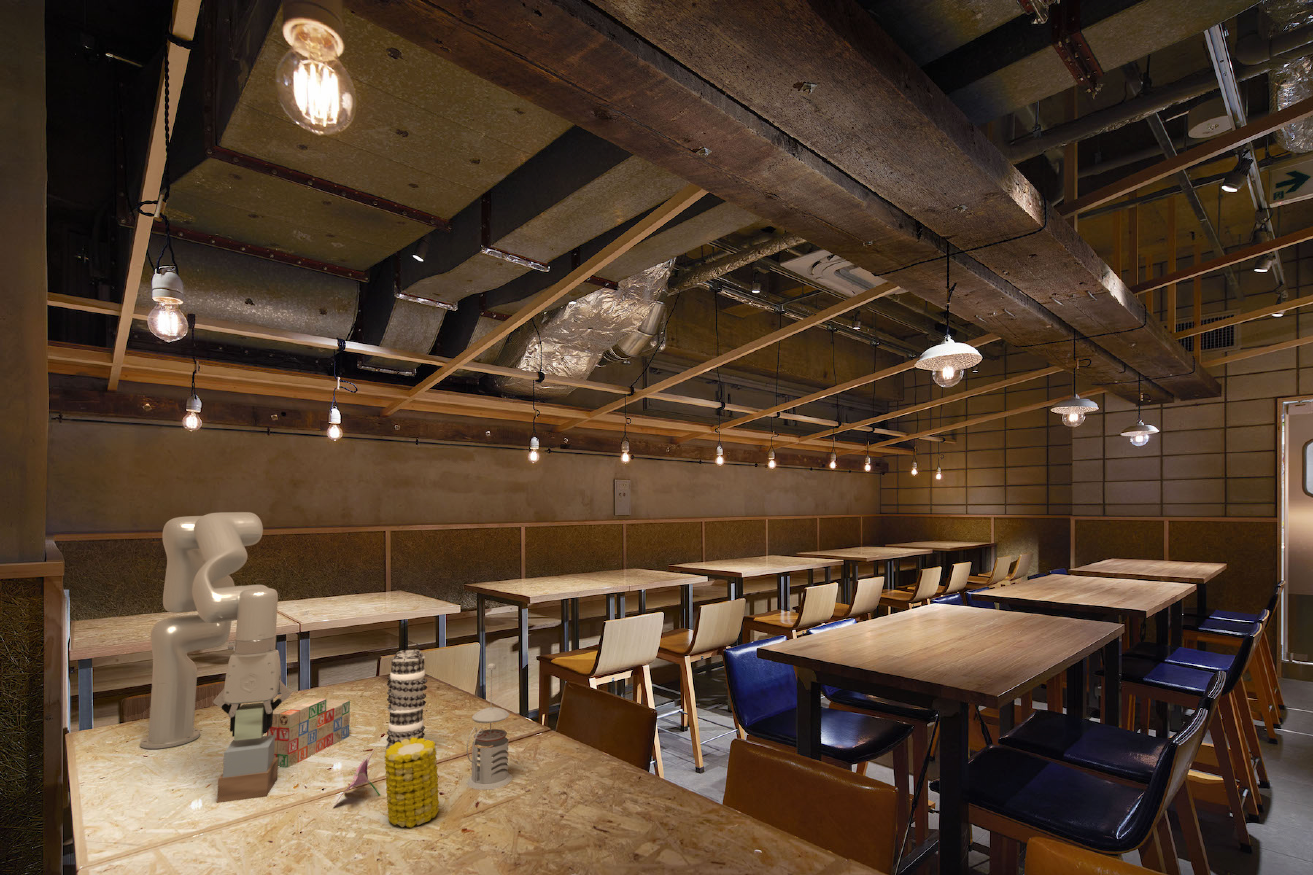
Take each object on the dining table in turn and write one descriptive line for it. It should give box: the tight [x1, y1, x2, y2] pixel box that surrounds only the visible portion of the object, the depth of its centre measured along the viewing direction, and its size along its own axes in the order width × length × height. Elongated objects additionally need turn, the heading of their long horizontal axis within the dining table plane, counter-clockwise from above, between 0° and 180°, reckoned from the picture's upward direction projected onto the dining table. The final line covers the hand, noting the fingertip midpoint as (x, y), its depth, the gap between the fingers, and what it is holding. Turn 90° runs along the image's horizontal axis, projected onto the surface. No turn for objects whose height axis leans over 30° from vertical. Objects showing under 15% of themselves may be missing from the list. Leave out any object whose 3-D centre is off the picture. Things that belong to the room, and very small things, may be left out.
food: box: [384, 737, 440, 829], centre depth 127 cm, size 15×12×10 cm
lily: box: [333, 746, 381, 807], centre depth 136 cm, size 12×12×10 cm
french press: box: [466, 663, 513, 791], centre depth 144 cm, size 10×12×25 cm
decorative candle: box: [385, 648, 428, 749], centre depth 158 cm, size 9×9×25 cm
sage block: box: [233, 702, 265, 741], centre depth 141 cm, size 5×5×6 cm
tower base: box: [216, 757, 279, 804], centre depth 140 cm, size 9×9×5 cm
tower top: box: [222, 735, 275, 778], centre depth 140 cm, size 8×8×5 cm
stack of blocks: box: [266, 697, 351, 768], centre depth 163 cm, size 21×6×12 cm, turn 168°
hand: (251, 731), depth 141 cm, fingers closed on sage block, 5 cm apart
